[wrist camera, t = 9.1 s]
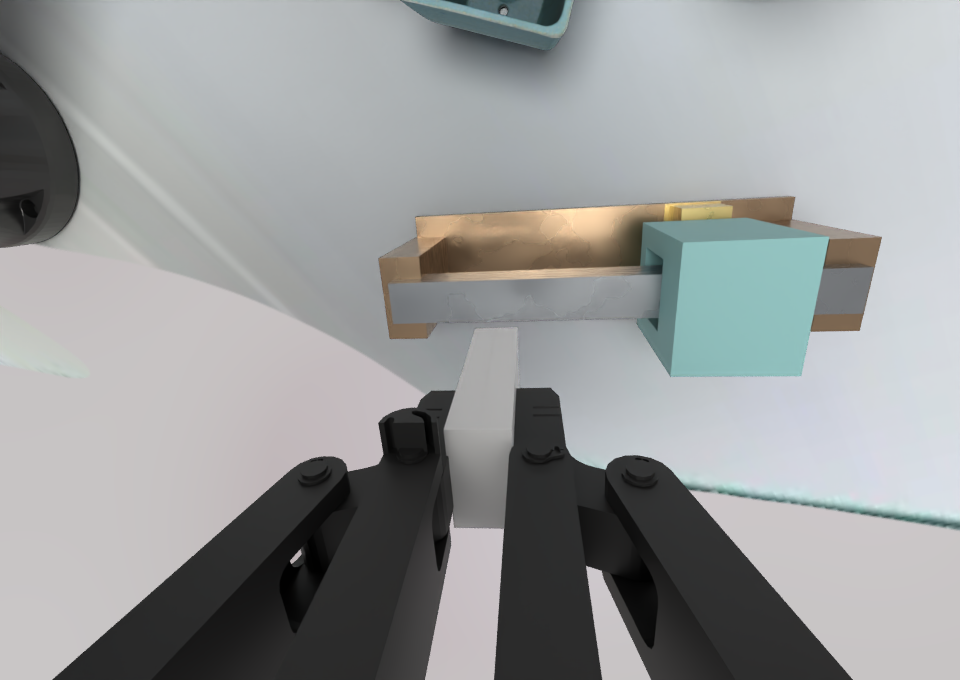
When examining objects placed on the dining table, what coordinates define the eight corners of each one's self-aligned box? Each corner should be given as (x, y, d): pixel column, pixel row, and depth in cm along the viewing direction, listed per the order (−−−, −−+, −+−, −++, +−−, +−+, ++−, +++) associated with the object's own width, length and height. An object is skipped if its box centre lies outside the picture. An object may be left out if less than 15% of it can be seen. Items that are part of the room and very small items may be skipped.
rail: (426, 317, 37) (388, 367, 28) (415, 216, 34) (368, 234, 25) (773, 308, 34) (865, 363, 24) (792, 196, 31) (904, 207, 21)
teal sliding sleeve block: (636, 323, 30) (670, 376, 23) (643, 222, 28) (682, 242, 20) (732, 322, 30) (801, 376, 22) (746, 217, 27) (829, 236, 20)
